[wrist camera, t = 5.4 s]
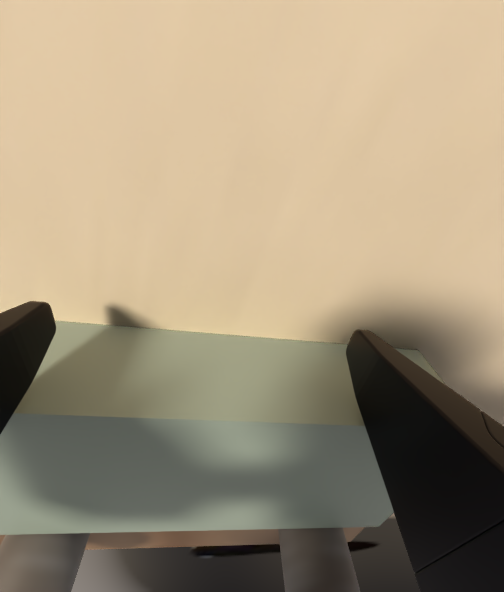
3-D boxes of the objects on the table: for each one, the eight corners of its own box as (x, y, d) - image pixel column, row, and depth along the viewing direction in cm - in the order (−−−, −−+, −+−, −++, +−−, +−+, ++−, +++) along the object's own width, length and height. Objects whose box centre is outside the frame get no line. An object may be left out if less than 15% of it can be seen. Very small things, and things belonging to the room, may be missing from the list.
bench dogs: (370, 451, 16) (432, 602, 11) (337, 495, 19) (374, 628, 14) (-15, 443, 13) (-160, 641, 8) (19, 496, 16) (-72, 664, 11)
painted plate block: (412, 343, 12) (481, 430, 9) (348, 442, 16) (378, 526, 13) (5, 308, 10) (-110, 409, 7) (54, 435, 14) (0, 535, 11)
